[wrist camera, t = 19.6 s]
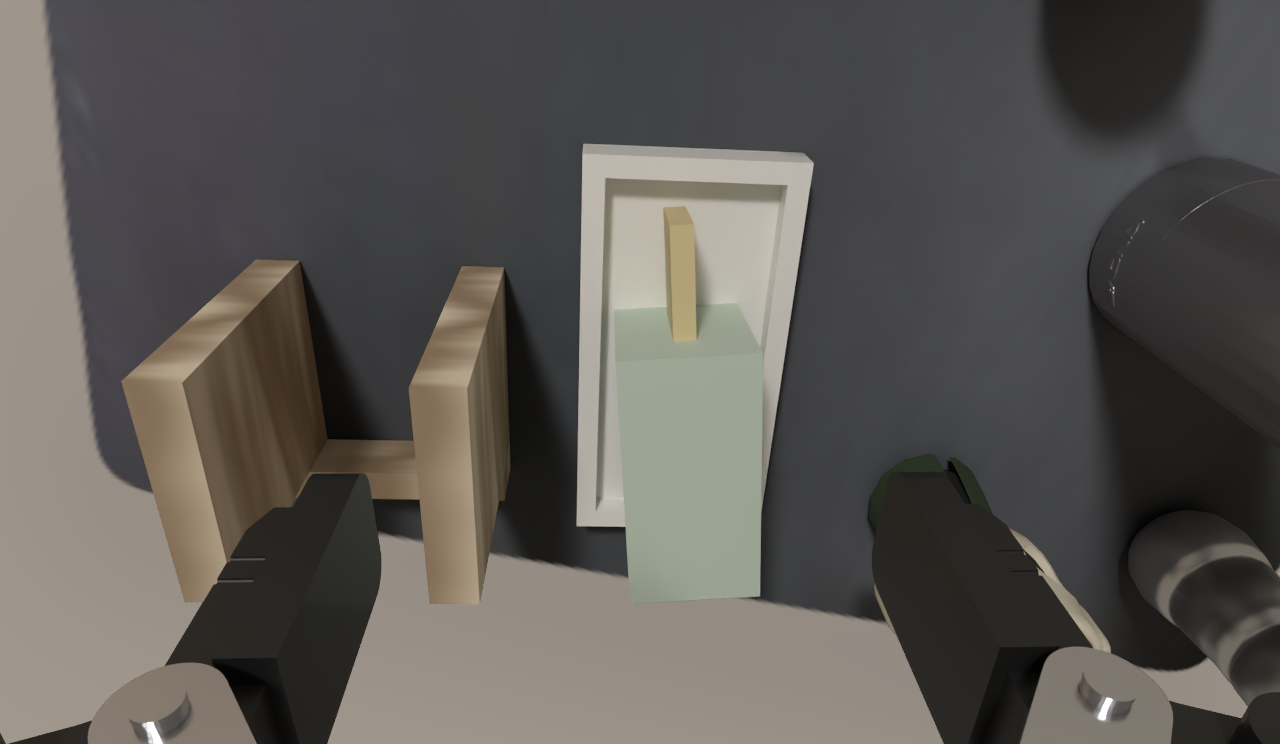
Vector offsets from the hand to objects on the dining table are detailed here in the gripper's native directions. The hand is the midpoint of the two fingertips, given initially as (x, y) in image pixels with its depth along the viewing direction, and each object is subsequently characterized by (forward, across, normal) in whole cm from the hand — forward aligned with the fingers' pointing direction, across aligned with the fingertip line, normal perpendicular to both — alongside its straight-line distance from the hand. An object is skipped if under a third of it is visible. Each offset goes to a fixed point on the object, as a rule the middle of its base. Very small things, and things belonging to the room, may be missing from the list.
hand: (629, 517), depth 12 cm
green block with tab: (+25, -4, +11) cm, 28 cm away
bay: (+27, +11, +12) cm, 31 cm away
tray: (+27, -4, +10) cm, 29 cm away
